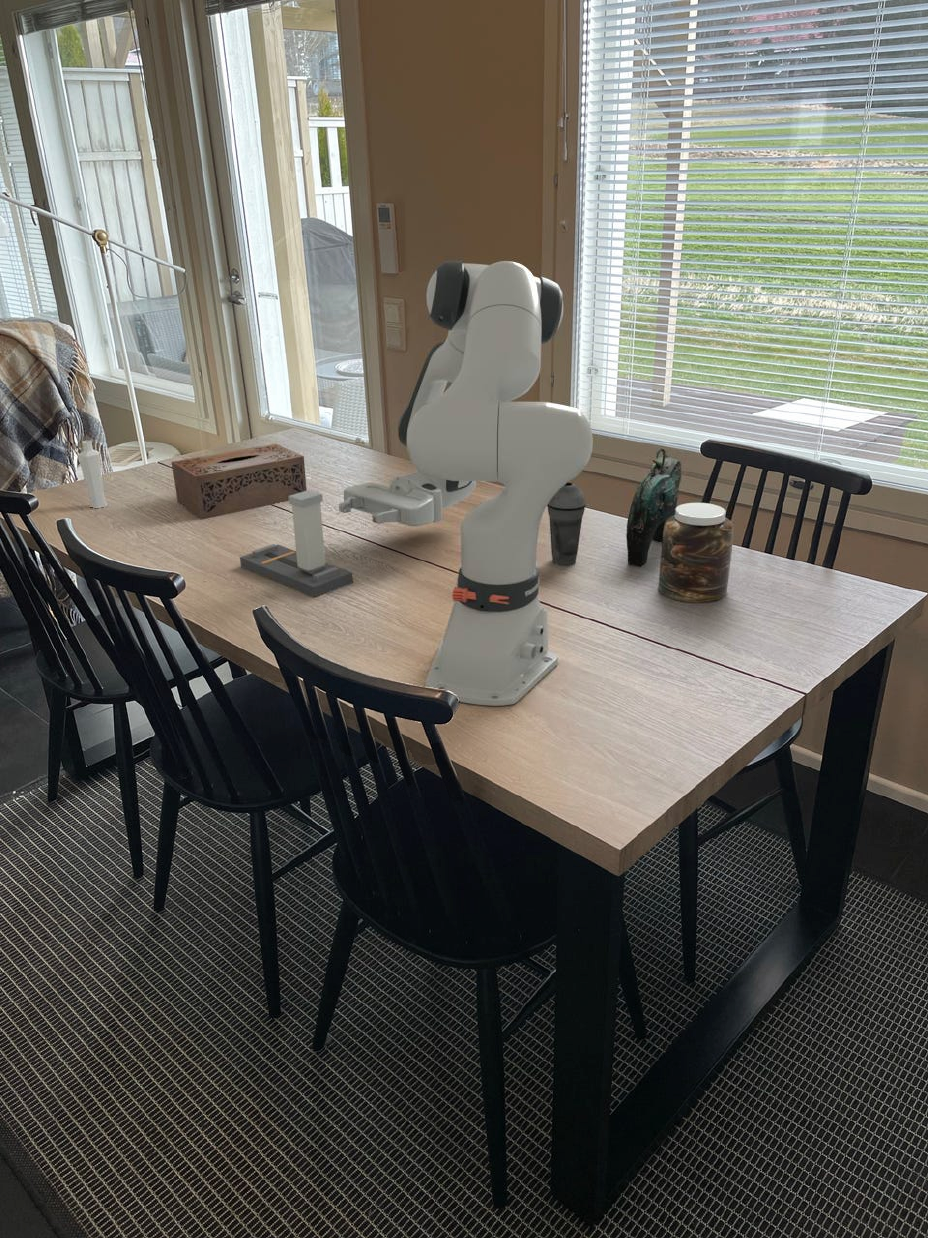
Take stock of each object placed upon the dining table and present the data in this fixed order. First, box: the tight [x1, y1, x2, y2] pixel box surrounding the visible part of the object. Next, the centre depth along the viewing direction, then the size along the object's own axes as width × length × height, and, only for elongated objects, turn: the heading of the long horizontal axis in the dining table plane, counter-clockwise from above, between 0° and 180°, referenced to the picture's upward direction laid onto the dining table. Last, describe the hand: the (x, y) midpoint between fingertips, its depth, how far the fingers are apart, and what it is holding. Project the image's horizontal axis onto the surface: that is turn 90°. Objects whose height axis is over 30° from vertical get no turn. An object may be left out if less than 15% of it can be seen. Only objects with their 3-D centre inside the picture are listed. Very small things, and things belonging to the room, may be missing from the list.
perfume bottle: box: [77, 440, 108, 509], centre depth 209 cm, size 5×4×15 cm
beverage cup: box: [547, 481, 586, 567], centre depth 174 cm, size 7×7×20 cm
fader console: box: [239, 543, 354, 598], centre depth 173 cm, size 22×9×3 cm, turn 48°
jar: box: [658, 502, 735, 604], centre depth 162 cm, size 12×12×15 cm
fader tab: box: [288, 489, 326, 575], centre depth 167 cm, size 4×5×14 cm
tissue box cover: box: [171, 443, 308, 520], centre depth 213 cm, size 26×14×10 cm, turn 126°
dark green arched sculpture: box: [626, 447, 682, 568], centre depth 179 cm, size 20×6×20 cm, turn 150°
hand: (357, 513), depth 174 cm, fingers open, 8 cm apart
